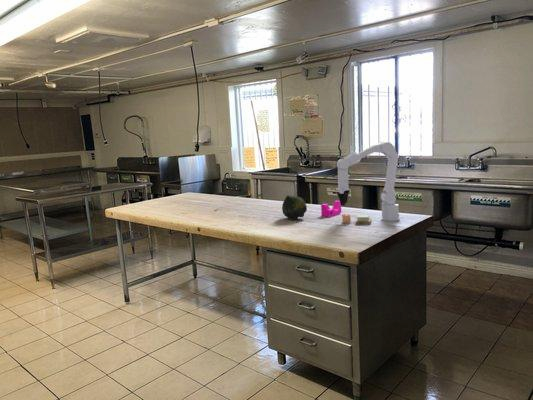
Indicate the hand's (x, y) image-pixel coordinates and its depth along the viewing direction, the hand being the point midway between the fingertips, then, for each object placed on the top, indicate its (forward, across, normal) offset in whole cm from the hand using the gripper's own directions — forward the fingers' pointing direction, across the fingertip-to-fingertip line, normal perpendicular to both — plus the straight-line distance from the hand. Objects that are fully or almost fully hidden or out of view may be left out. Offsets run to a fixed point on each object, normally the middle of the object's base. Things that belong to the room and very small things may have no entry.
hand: (343, 204), depth 238 cm
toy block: (+11, -19, -10) cm, 24 cm away
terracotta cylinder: (+10, +3, +2) cm, 11 cm away
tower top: (+9, +3, +11) cm, 14 cm away
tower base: (+11, +3, +11) cm, 16 cm away
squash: (+10, -6, -31) cm, 33 cm away
